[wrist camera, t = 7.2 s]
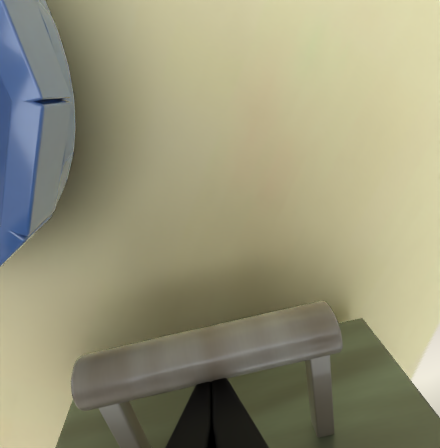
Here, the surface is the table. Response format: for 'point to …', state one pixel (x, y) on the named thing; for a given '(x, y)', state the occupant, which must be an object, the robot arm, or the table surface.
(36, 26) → the blue bowl
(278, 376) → the drawer
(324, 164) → the table surface
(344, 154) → the table surface
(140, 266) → the table surface
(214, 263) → the table surface
